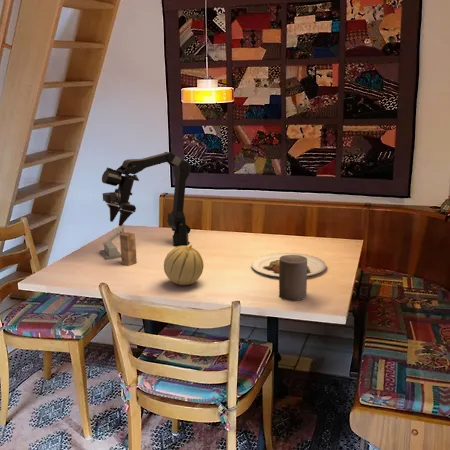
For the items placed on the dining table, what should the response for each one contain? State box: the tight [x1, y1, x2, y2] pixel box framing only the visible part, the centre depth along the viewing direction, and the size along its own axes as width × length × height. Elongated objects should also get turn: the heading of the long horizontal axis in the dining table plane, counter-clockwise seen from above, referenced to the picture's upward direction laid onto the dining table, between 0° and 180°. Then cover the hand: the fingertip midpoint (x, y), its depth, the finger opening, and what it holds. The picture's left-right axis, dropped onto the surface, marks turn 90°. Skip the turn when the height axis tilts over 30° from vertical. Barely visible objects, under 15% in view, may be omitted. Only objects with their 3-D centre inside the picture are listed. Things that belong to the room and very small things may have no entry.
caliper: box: [102, 223, 126, 245], centre depth 266 cm, size 21×1×6 cm, turn 164°
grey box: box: [99, 241, 121, 261], centre depth 240 cm, size 12×7×4 cm, turn 25°
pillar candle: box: [278, 255, 308, 302], centre depth 188 cm, size 10×10×15 cm
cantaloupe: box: [163, 244, 204, 286], centre depth 202 cm, size 15×15×15 cm
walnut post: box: [119, 231, 138, 267], centre depth 227 cm, size 4×4×13 cm
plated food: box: [250, 252, 327, 278], centre depth 219 cm, size 30×30×3 cm
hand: (115, 223), depth 233 cm, fingers open, 9 cm apart
